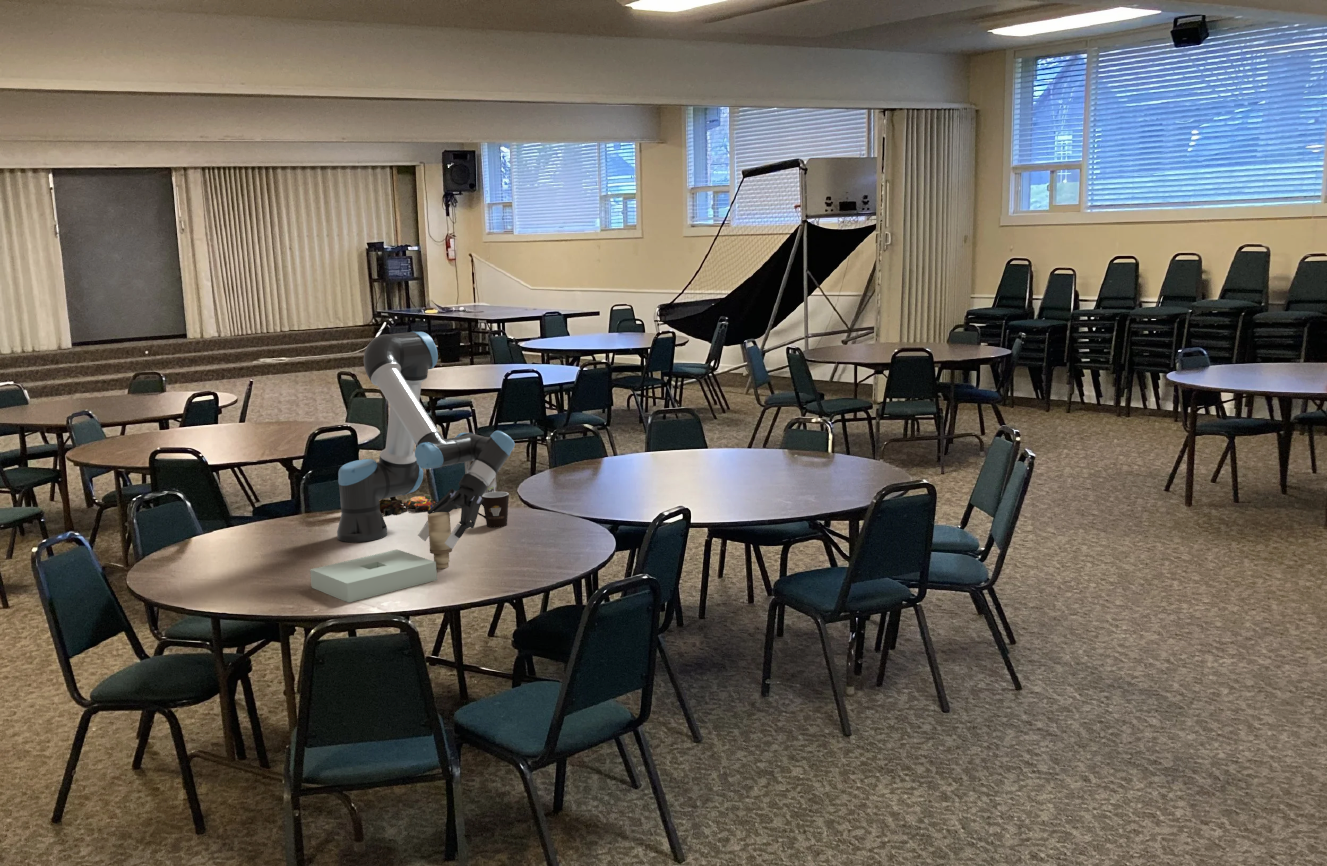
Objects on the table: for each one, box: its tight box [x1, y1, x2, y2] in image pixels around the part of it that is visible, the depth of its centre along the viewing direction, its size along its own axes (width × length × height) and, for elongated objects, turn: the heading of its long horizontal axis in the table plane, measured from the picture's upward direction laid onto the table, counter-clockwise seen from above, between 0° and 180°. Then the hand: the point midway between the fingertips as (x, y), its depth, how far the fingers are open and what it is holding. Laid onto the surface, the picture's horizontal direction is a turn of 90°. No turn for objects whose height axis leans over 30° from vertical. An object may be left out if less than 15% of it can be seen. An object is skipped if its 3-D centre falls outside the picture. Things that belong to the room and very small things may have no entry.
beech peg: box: [427, 512, 453, 570], centre depth 321 cm, size 6×6×15 cm
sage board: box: [309, 549, 438, 603], centre depth 308 cm, size 20×26×5 cm
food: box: [379, 495, 438, 517], centre depth 398 cm, size 22×19×4 cm
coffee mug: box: [478, 491, 510, 529], centre depth 369 cm, size 12×9×10 cm
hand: (434, 542), depth 320 cm, fingers open, 13 cm apart
